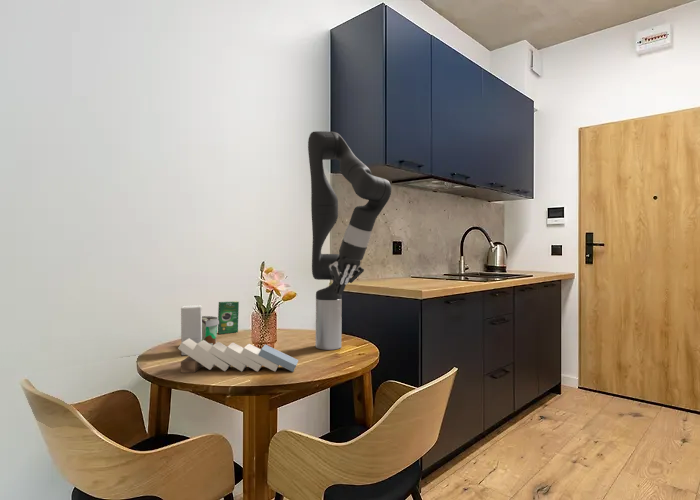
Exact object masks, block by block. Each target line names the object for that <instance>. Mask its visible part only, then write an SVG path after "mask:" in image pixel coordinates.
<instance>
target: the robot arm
mask: <svg viewBox="0 0 700 500" xmlns="http://www.w3.org/2000/svg"><path fill="white" fill-rule="evenodd" d="M307 151H308V163H309V171H310V172H309V173H310V184H311V185H310V186H311V187H310V189H311V192H310V193H311V194H310V196H311V197H310V200H311V202H310V204H311V207H310V208H311V210H310V211H311V226H312V229H311V230H312V244H311V245H312V246H311V247H312V249H311V274H312V277H313V279H315V280H322V281H324V280H326V281H329V280H330V281H332V283H331V284H330V285H329V286H326V287H325V288H321V289H318V290H317V291H316V293H315V348H316V349H319V350H326V351H329V350H338V349H341V348H342V331H343V330H342V328H343V327H342V323H343V322H342V320H343V319H342V317H343V316H342V312H343V310H342V309H343V308H342V306H343V305H342V303H343V300H342V297H343V294H344V291H345V289H346V287H347V285H348V284H349V283H350V284H352V283H353V282H354V281H355V280H356V279H357V278H359V276H361V275H362V274H363V273H364V271H365V269H364V268H363V267H362V266H361V261H363V259H364V257H365V254H366V250H367V248H368V245H369V243H370V239H371V237H372V236H371V235H372V231H373V228H374V227H375V223H376V219H377V218H378V216H379V215H380V214H381V212H382V210H384V207H386V206H387V203H388V201H389V200H390V197H391V195H392V185H391V183H390V181H389V180H388V179H386V178H384V177H379V176H377V175H376V176H375V175H373V174H372V171H371V169H370V168H369V166H367V165H366V164H365V163H363V161H361V160H360V159H359V158H358V157H357V156H356V155H355V153H354V152H353V151H352V149H351V148H350V146H349V145H348V144H347V141H346V140H345V139H344V138H343V137H342V136H341V134H339V133H338V132H335V131H325V130H323V131H322V130H321V131H317V130H314V131H312V132H311V133H309V136H308V140H307ZM323 160H325V161H326V160H329V161H331V160H337V161H338V162H339V170H340V173H341V175H342V176H343V177H344V179H346V181H348V182H349V183H350V184H351V186H352V189H353V191H354V192H355V195H356V196H358V197H360V198H361V199H363V200H368V201H367V202H366V204H364V205H358V206H355V207H354V209H353V211H352V214H351V217H350V219H349V223H348V225H347V227H346V229H345V232H344V234H343V238H342V241H341V244H340V246H339V249H338V253H322V249H323V246H324V243H325V242H326V239H327V238H328V235H329V234H330V233H331V231H332V230H333V228H334V226H335V225H336V223H337V221H338V217H339V201H338V200H339V199H338V195H337V194H336V192H335V190H334V188H333V186H332V185H331V184H330V182H329V180H328V179H327V176H326V173H325V170H324V162H323Z"/></svg>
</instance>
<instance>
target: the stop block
mask: <svg viewBox="0 0 700 500" xmlns="http://www.w3.org/2000/svg"><path fill="white" fill-rule="evenodd" d="M202 367H204V366H203V365H202V364H200V363H199V362H197V361H196V360H194V359H193V358H191V357H190V356H187V357H185V358H184V359H182V360H181V361H180V373H196V372H197V371H199V370H200V369H202Z"/></svg>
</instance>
